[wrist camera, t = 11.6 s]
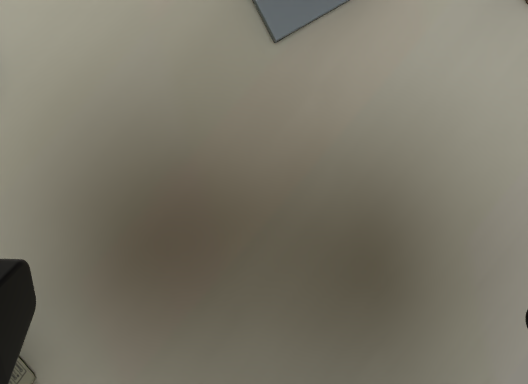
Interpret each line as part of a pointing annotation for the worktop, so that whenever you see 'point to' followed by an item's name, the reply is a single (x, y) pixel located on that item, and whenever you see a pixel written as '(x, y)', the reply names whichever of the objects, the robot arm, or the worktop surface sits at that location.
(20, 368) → the skincare box
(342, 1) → the mat
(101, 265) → the worktop surface
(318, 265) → the worktop surface
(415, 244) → the worktop surface
